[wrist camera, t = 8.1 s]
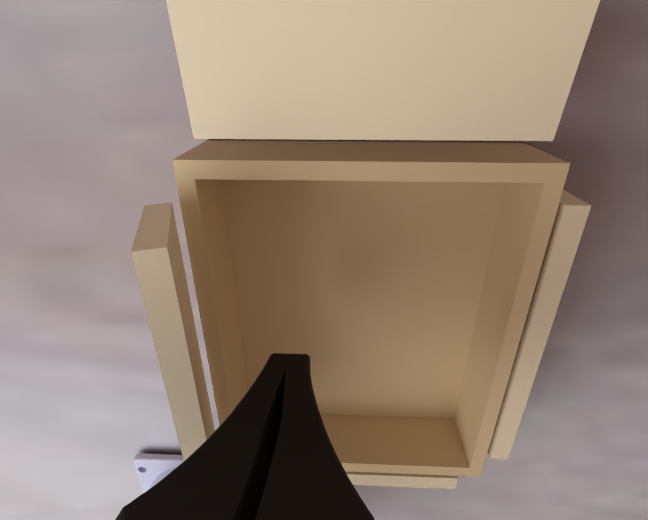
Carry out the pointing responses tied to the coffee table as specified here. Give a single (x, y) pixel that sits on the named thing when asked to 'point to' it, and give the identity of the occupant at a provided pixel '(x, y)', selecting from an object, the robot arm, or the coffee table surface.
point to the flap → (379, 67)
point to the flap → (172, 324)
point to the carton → (384, 287)
